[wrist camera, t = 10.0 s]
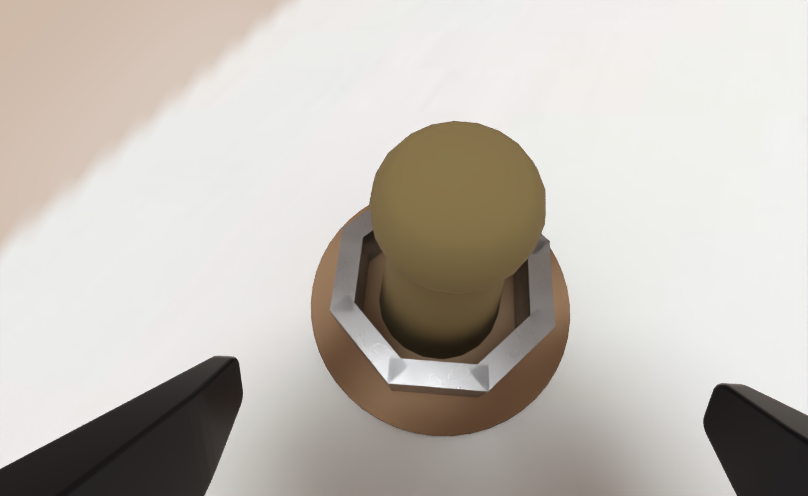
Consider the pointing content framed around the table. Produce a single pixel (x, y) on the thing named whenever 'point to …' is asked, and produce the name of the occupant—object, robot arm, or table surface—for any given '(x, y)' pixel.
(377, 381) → the coupling socket
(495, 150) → the cork
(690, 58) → the table surface
